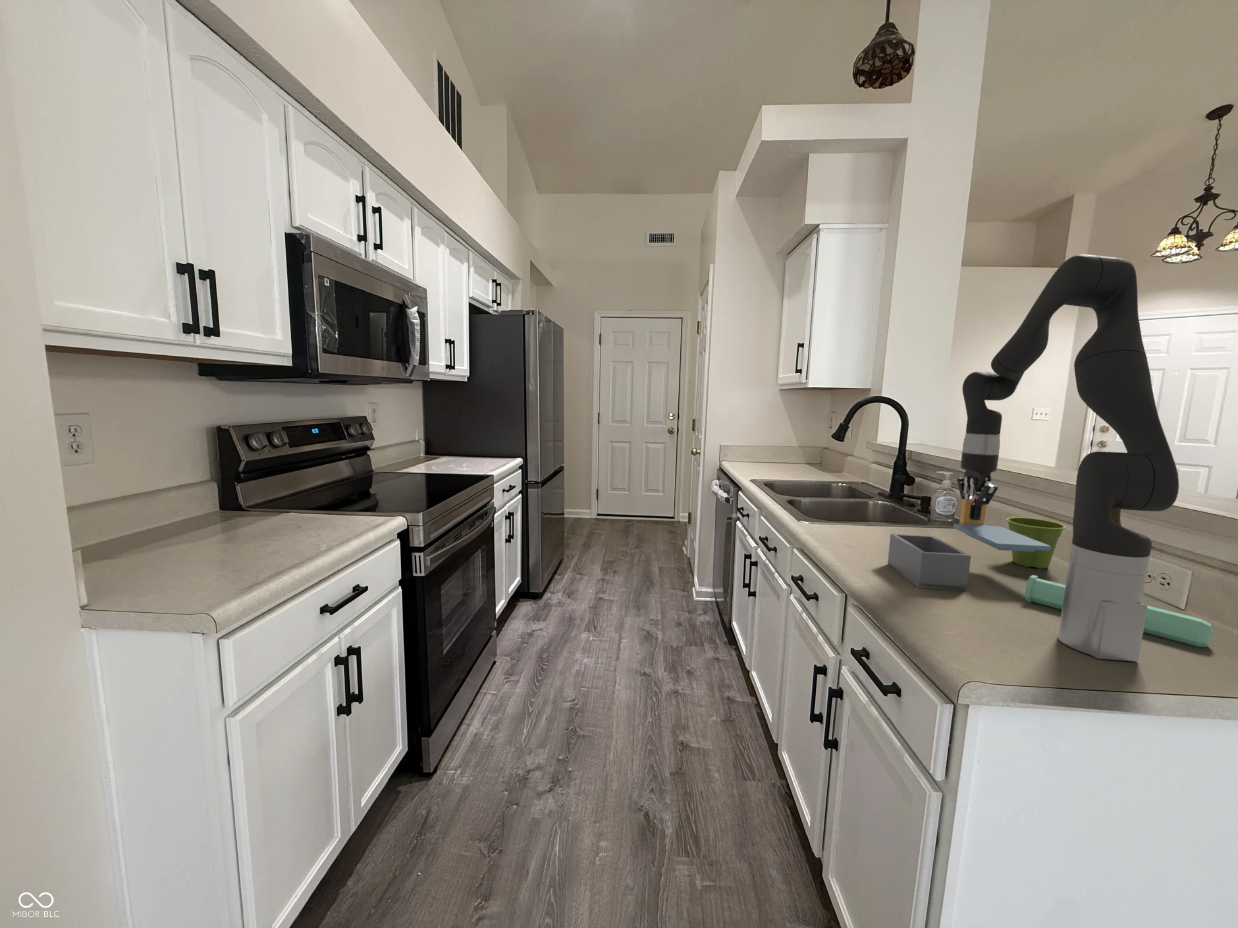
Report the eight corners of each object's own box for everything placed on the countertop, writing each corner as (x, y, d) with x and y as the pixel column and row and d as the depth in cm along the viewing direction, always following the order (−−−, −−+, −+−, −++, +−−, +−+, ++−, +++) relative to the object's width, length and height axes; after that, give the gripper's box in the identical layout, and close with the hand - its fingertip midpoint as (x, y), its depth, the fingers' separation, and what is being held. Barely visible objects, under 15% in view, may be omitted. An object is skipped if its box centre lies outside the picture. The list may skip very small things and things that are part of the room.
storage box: (966, 590, 108) (970, 555, 107) (918, 587, 109) (922, 552, 108) (929, 566, 124) (932, 535, 123) (887, 564, 125) (890, 533, 124)
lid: (1049, 555, 108) (1055, 519, 107) (995, 552, 109) (1000, 516, 108) (991, 530, 127) (995, 500, 126) (946, 528, 128) (950, 498, 127)
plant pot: (1007, 554, 136) (1012, 514, 135) (1064, 566, 127) (1070, 523, 126) (995, 562, 129) (1000, 520, 127) (1054, 575, 120) (1061, 530, 118)
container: (1218, 613, 85) (1034, 569, 104) (1214, 633, 82) (1025, 584, 101) (1212, 639, 87) (1033, 591, 106) (1208, 660, 84) (1024, 607, 103)
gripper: (1014, 455, 117) (1005, 526, 120) (979, 449, 131) (971, 513, 133) (981, 454, 118) (972, 524, 120) (949, 448, 132) (942, 511, 134)
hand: (972, 518), depth 127 cm, fingers closed on lid, 1 cm apart
